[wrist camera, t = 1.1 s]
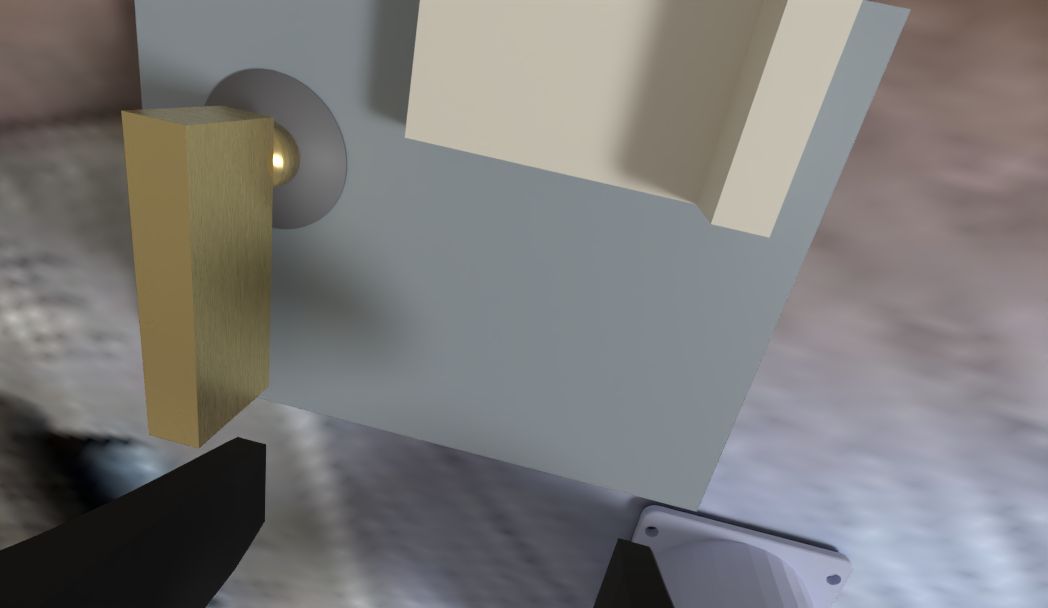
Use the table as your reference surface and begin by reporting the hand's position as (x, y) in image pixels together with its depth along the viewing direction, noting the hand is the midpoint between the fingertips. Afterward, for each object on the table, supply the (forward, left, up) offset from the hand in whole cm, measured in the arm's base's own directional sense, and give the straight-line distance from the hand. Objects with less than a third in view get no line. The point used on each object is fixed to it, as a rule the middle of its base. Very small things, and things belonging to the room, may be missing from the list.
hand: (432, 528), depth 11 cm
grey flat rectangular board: (+4, +2, -9) cm, 10 cm away
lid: (+9, -1, -7) cm, 11 cm away
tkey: (+2, +7, -7) cm, 10 cm away
